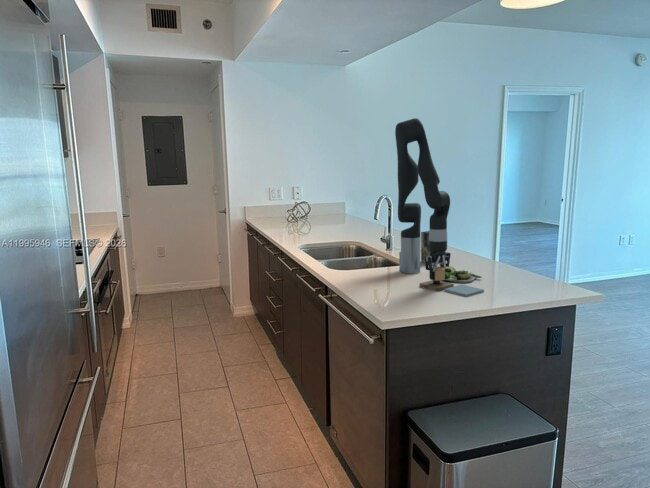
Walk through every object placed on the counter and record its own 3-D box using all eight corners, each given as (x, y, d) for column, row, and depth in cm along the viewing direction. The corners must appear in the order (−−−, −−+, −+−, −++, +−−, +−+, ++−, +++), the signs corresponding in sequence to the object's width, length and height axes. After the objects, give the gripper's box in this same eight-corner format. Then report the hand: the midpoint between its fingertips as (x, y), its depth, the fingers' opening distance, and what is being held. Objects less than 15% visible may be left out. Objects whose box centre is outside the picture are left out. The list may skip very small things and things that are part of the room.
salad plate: (485, 276, 218) (485, 267, 217) (476, 286, 203) (477, 275, 202) (443, 273, 227) (443, 263, 227) (432, 281, 212) (432, 271, 211)
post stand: (419, 286, 203) (419, 273, 202) (435, 282, 208) (435, 269, 207) (437, 291, 195) (437, 277, 193) (453, 287, 200) (453, 273, 199)
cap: (437, 281, 197) (437, 270, 196) (428, 278, 202) (428, 267, 201) (447, 279, 200) (447, 268, 199) (438, 276, 205) (438, 265, 204)
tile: (444, 291, 195) (444, 288, 195) (461, 286, 201) (461, 284, 201) (466, 297, 186) (466, 294, 186) (483, 292, 192) (484, 289, 192)
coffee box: (440, 263, 246) (441, 232, 244) (430, 264, 244) (430, 233, 241) (430, 260, 255) (431, 230, 252) (420, 261, 252) (420, 231, 250)
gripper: (433, 242, 191) (432, 283, 194) (456, 238, 199) (455, 277, 202) (419, 240, 197) (419, 279, 200) (442, 236, 205) (441, 274, 208)
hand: (437, 278), depth 201 cm, fingers closed on cap, 5 cm apart
